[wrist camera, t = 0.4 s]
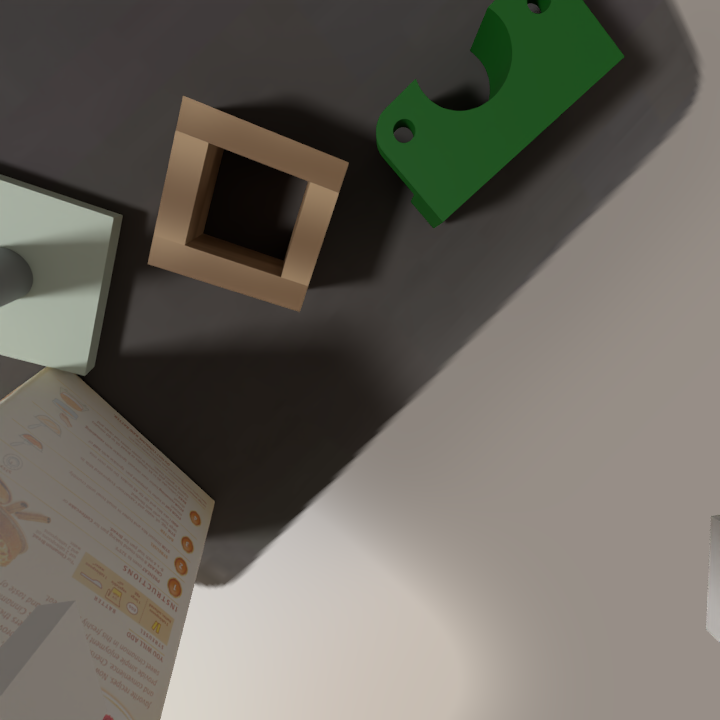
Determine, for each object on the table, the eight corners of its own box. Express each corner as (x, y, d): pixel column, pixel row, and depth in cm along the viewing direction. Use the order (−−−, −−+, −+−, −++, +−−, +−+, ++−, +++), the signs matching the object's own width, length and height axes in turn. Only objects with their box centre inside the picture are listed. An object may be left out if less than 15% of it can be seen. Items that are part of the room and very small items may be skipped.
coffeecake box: (-20, 415, 31) (-473, 761, 13) (61, 354, 30) (-303, 631, 12) (147, 549, 36) (-2, 921, 18) (219, 501, 35) (137, 841, 17)
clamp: (473, 66, 30) (568, -68, 22) (530, 138, 31) (645, 37, 22) (343, 172, 28) (392, 69, 19) (410, 249, 28) (487, 184, 20)
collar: (203, 109, 26) (183, 95, 21) (340, 164, 28) (349, 162, 23) (172, 248, 28) (147, 264, 24) (299, 290, 30) (299, 311, 25)
